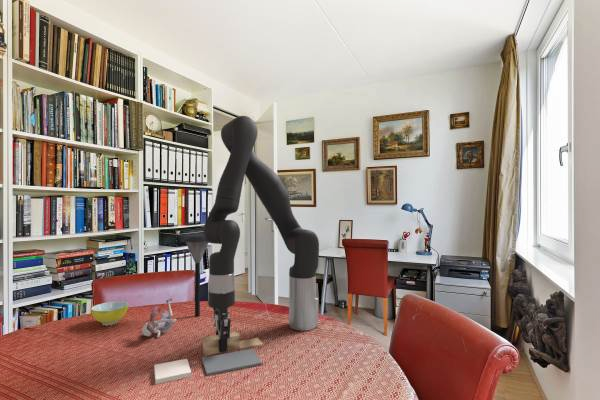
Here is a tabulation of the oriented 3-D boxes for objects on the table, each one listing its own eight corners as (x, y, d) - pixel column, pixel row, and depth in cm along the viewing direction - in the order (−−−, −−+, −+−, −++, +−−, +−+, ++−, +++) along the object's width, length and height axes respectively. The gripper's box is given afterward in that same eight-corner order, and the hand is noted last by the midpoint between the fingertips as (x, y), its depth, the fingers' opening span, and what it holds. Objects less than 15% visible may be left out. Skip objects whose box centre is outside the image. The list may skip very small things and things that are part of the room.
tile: (187, 358, 89) (154, 364, 85) (191, 372, 82) (155, 379, 78) (187, 364, 89) (154, 371, 85) (191, 378, 82) (155, 386, 78)
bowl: (127, 316, 125) (127, 299, 125) (129, 325, 115) (129, 307, 115) (91, 321, 119) (91, 304, 119) (90, 332, 109) (90, 313, 110)
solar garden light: (189, 309, 132) (189, 234, 132) (219, 311, 130) (219, 234, 131) (173, 320, 120) (174, 237, 120) (206, 322, 118) (206, 237, 119)
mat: (252, 350, 96) (252, 348, 96) (261, 364, 88) (261, 362, 88) (202, 359, 90) (202, 357, 90) (206, 375, 82) (206, 373, 82)
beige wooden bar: (257, 339, 104) (257, 326, 104) (263, 345, 99) (263, 332, 99) (202, 350, 96) (202, 336, 96) (205, 357, 92) (205, 342, 92)
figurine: (179, 337, 113) (153, 348, 99) (156, 329, 115) (127, 340, 100) (188, 303, 115) (164, 309, 100) (166, 296, 116) (138, 302, 102)
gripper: (204, 284, 102) (204, 340, 102) (212, 296, 89) (212, 361, 89) (229, 282, 105) (229, 336, 105) (240, 293, 92) (240, 355, 92)
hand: (221, 347), depth 97 cm, fingers open, 4 cm apart
